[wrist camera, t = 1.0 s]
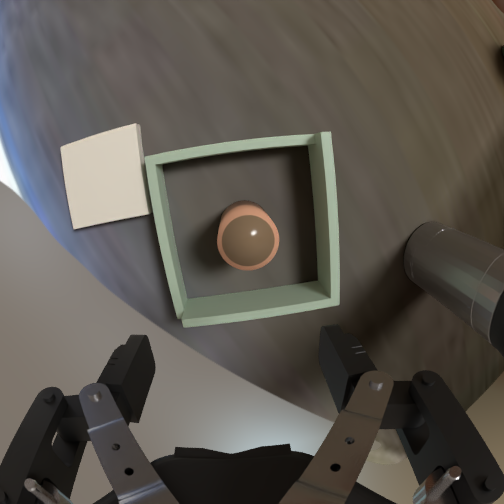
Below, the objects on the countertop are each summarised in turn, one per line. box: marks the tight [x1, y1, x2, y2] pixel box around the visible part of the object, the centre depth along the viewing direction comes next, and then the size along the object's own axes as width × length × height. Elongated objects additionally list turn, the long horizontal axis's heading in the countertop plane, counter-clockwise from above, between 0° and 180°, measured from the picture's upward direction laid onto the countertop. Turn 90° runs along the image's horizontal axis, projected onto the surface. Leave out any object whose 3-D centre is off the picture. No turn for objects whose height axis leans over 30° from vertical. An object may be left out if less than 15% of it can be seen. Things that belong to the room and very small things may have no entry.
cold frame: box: [145, 132, 340, 328], centre depth 29 cm, size 18×18×5 cm
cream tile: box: [61, 123, 152, 229], centre depth 28 cm, size 10×10×2 cm
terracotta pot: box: [217, 200, 279, 270], centre depth 28 cm, size 5×5×7 cm
